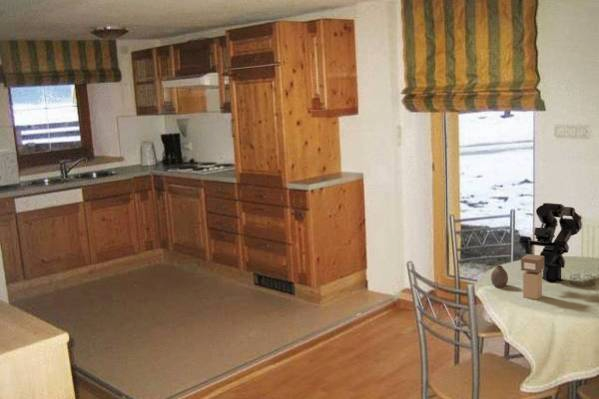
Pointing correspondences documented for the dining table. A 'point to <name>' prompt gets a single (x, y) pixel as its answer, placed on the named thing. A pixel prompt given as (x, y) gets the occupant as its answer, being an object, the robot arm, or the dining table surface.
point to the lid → (532, 263)
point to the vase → (499, 277)
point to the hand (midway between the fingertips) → (538, 262)
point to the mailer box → (532, 285)
